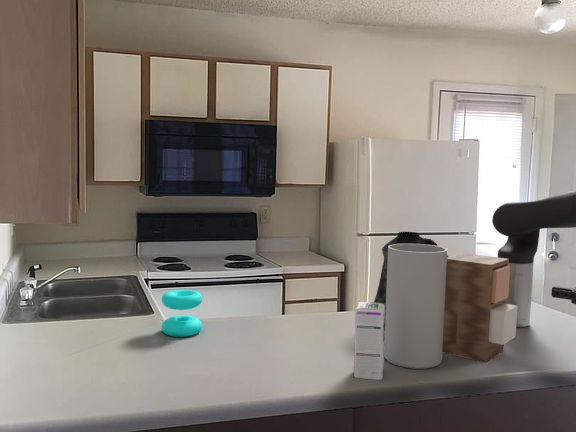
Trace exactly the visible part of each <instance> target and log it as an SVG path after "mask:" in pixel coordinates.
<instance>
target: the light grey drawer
mask: <svg viewBox="0 0 576 432" xmlns="http://www.w3.org/2000/svg"><path fill="white" fill-rule="evenodd" d="M516 321H517V306H516V305H510V304H505V303H501V304H499V305H496V306H494V307H492V308H490V326H489V342H492V343H497V344H501V345H503V344H504V345H505V344H506V343H508V342H510V341H511V340H512V339H514V338H516V337H517V336H516V335H517V333H516V332H517V327H516Z"/></svg>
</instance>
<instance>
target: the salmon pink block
mask: <svg viewBox="0 0 576 432" xmlns="http://www.w3.org/2000/svg"><path fill="white" fill-rule="evenodd" d="M509 277H510V266H505V265H502V266H499V267H496V268H493V273H492V291H491V303H497V302H499V301H501V300H504V299H506V298H508V294H509Z"/></svg>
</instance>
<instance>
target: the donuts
mask: <svg viewBox="0 0 576 432" xmlns="http://www.w3.org/2000/svg"><path fill="white" fill-rule="evenodd" d="M202 302H203V296H202V294H201V293H200V292H199V291H197V290H191V289H174V290H170V291H167V292H165V293H163V295H162V296H161V303H162V305H163V306H165V308H168V309H170V310H178V311H185V310H192V309H195V308H196V307H199V306H200V305H201V304H202ZM202 329H203V323H202V321H201V320H200V319H199V318H197V317H196V316H192V315H184V314H183V315H175V316H170V317H169V318H166V319H165V320H164V321H163V322H162V324H161V331H162V332H163V334H165V335H167V336H170V337H174V338H186V337H192V336H196V335H197V334H199V333H201V331H202Z"/></svg>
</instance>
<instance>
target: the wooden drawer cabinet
mask: <svg viewBox="0 0 576 432" xmlns="http://www.w3.org/2000/svg"><path fill="white" fill-rule="evenodd" d="M502 265H505V266H509V259H506V258H498V256H489V255H481V254H473V253H467V252H466V253H465V252H462V253H458V254H455V255H451V256H448V257H447V265H446V285H445V306H444V326H443V346H442V353H445V354H449V355H452V356H457V357H460V358H465V359H468V360H473V361H476V362H477V361H478V362H481V363H488V362H489V361H491V360H492V359H494V358H495V357H497V356H498V355H500V354H501V353H502V352H504V350H505V349H504V347H505V344H503V345H501V344H497V343H492V342H489V326H490V308H492V307H494V306H496V305H499V304H501V303H505V304H506V300H507V298H506V299H504V300H501V301H499V302H497V303H491V291H492V273H493V268H496V267H499V266H502Z"/></svg>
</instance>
